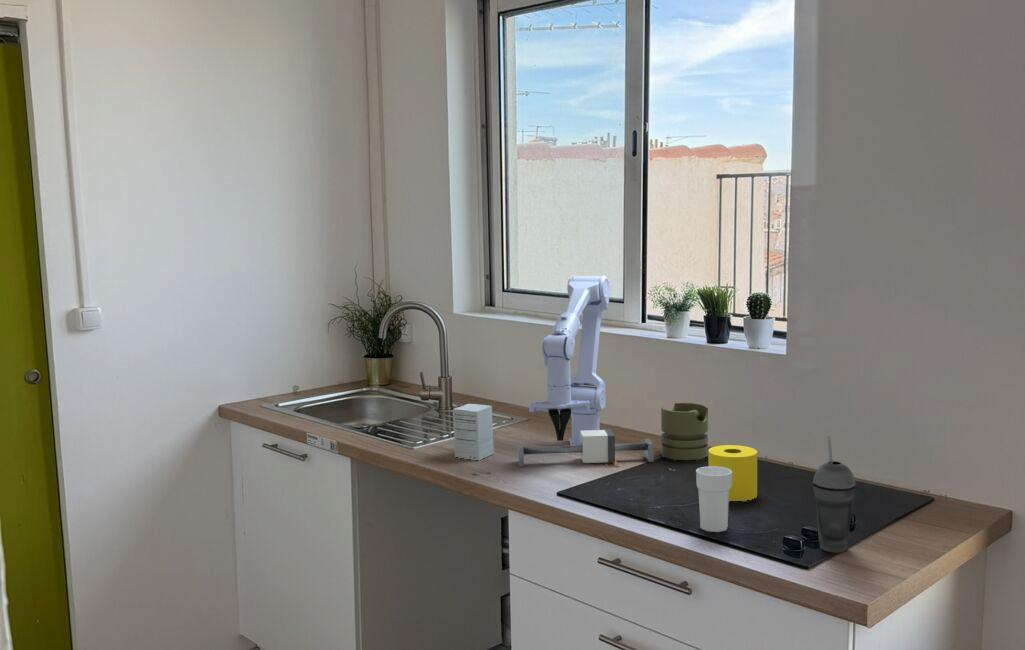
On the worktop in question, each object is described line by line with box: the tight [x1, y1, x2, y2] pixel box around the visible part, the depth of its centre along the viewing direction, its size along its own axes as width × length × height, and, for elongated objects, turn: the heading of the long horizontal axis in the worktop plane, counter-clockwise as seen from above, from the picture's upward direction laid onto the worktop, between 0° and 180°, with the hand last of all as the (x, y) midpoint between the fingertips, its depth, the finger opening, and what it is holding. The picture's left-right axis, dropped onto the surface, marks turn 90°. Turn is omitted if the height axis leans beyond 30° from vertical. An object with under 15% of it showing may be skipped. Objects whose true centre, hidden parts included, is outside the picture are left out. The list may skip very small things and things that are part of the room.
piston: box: [660, 402, 709, 460], centre depth 229 cm, size 11×12×11 cm
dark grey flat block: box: [603, 428, 616, 463], centre depth 226 cm, size 2×7×6 cm, turn 2°
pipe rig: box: [517, 438, 654, 468], centre depth 226 cm, size 32×11×4 cm, turn 92°
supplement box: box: [452, 403, 495, 462], centre depth 233 cm, size 7×7×13 cm
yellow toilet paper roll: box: [707, 444, 758, 502], centre depth 196 cm, size 10×10×9 cm
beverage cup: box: [812, 435, 857, 553], centre depth 163 cm, size 7×7×20 cm
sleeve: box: [580, 429, 608, 464], centre depth 226 cm, size 6×6×6 cm
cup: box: [695, 465, 732, 533], centre depth 176 cm, size 7×7×11 cm
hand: (560, 439), depth 225 cm, fingers closed
